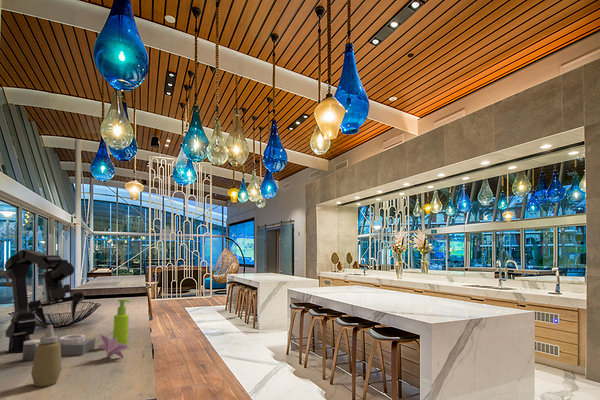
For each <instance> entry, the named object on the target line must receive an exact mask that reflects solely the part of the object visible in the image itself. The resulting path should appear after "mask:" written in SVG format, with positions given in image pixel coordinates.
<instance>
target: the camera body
mask: <svg viewBox="0 0 600 400" xmlns="http://www.w3.org/2000/svg"><path fill="white" fill-rule="evenodd" d="M58 339H59V340H58V341H57V342H58V343H60V344H61V357H63V356H65V357H67V356H84V355H86V354H88V353H89V352H90V351H92V350H94V349H95V348H96V341H97V339H96V338H94V337H93V338H91V337H89V338H88V337H87V338H86V335H85V334H70V335H63V336H61V337H59V338H58Z"/></svg>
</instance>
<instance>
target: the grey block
mask: <svg viewBox="0 0 600 400" xmlns="http://www.w3.org/2000/svg"><path fill="white" fill-rule="evenodd" d="M40 340H41V339H30V340H28V341H24V346H23V352H22V360H21V361H22V362H23V363H30V362H34V357H35V352H36V347H37V346H38V345H39V344H41V343H40Z"/></svg>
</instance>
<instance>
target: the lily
mask: <svg viewBox="0 0 600 400" xmlns="http://www.w3.org/2000/svg"><path fill="white" fill-rule="evenodd" d="M99 337H100V339H101V340H102V343H100V344H99V345H96V348H99V349H102V350H105V351H106V357H105V359H104V363H105V364H106V361H107V358H111V357H112V356H113V355H116V356H119V357H120V358H122V359H123V358H124V355H123V352H122V351H123V350H126V349H129V348H130V346H129V345H128V344H127V345H125V344H122V343H118V341H117V338H116V337H115V338H113V337H112V338H109V337H108V336H107V335H104V334H102V333H100V334H99Z"/></svg>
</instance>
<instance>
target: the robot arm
mask: <svg viewBox="0 0 600 400" xmlns="http://www.w3.org/2000/svg"><path fill="white" fill-rule="evenodd" d="M33 264H36V267H37V268H39V269H40V270H43V271H44V272H43V274H42V275H41V277H40V278H41V279H43V281H44V287H45V293H46V298H47V299H46V301H41V299H39V300H34V301H33V300H31V301H29V297H28V288H27V280H26V277H27V275H28V273H29V272H30V267H31V266H32V265H33ZM4 269H5V271H6V272H5V273H6V276H7V277H8V278H9V279H10V280H11V285H12V294H13V295H12V296H13V306H14V308H13V309H14V313H13V316H12V317H11V319H10V324H9V326H8V327H7V328H6V330H5V337H6V338H9V341H8V350H6V351H5V353H7V354H8V353H23V346H24V341H28V340H31V336H30V335H34V332H35V329H36V326H37V320H36V316H37V317H38V318H39V320H40V322H41V323H42V324H43V326H44V327H45V328H47V327H48V325H47V320H46V318H45V313H44V309H43V308H44V307H45V308H46V307H51V306H54V305H57V304H58V305H59V304H63V303H69V302H71V303H70V312H71V320H72V321H75V316H76V310H77V305H80V303H82V302H83V300H84V299H85V294H84V292H83V291H79V292H78V291H77V292H71V284H63V280H65V279H67V278H68V277H70V276H71V275H73V274H74V272H75V267H74V266H73V264H72V263H71V262H69V260H68V259H63V258H61V256H60V255H57V254H44V253H41V252H39V251H36V250H35V249H21V250H19V251H18V252H17V253H16V254H13V255H11V256H9V258H8V259H7V260H6V261H5V262H4ZM45 270H46V271H45ZM47 270H48V271H47ZM68 293H71V295H70V296H66V294H68Z"/></svg>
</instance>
